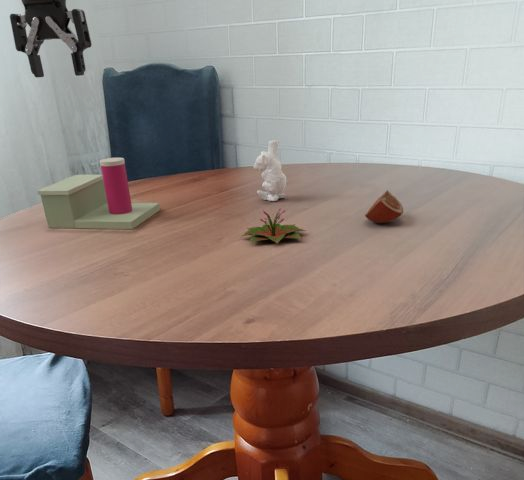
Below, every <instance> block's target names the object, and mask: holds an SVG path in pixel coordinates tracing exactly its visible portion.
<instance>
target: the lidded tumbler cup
mask: <svg viewBox="0 0 524 480" xmlns="http://www.w3.org/2000/svg"><path fill="white" fill-rule="evenodd" d="M99 166H100V170H101V175H102V176H103V182H104V187H105V192H106V198H107V203H108V208H109V213H111V214H125V213H129V212H131V211H132V204H131V203H132V199H131V193H130V188H129V182H128V175H127V169H126V160H125V158H124V157H108V158H102V159H100V160H99Z"/></svg>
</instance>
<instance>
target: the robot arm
mask: <svg viewBox="0 0 524 480" xmlns="http://www.w3.org/2000/svg"><path fill="white" fill-rule="evenodd" d="M21 3H22V5H23V8H24V14H22V13H20V14H19V13H11V14H10V15H9V20H10V26H11V31H12V36H13V41H14V42H13V43H14V46H15V47H14V48H15V50H16V51H17V52H21V53H24V54H25V55H26V56H27V59H28V63H29V67H30V70H31V73H32V75H34V77H35V78H44V77H45V73H44V69H43V64H42V59H41V55H40V54H39V52H40V49H41V47H42V45H43V44H44V42H45V40H46V41H47V40H49V41H50V40H61V41H62V42H63V43H65V44H66V46H67V47H68V48H69V49H70V51H71V53H70V56H71V61H72V66H73V72H74V75H75V76H84V75H85V72H86V63H85V58H84V51H85V50H87V49H88V48H89V49H90V48H92V44H93V43H92V40H91V35H90V30H89V27H88V22H87V17H86V13H85V11H84V10H83V9H79V8H74V9H72V10H69V9H68V8H67V0H21ZM70 21H71V23H72V24H73V25H74V29H75V33H76V35H75V33H74V32H73V30H71V28H70V27H69V25H70ZM27 26H29V32H28V35H27V29H26V28H27Z"/></svg>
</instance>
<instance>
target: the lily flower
mask: <svg viewBox="0 0 524 480" xmlns="http://www.w3.org/2000/svg"><path fill="white" fill-rule="evenodd" d="M270 209H271V211H273V209H272V208H270ZM281 210H282V208H279V209H278V211H277V212H276V215H275V217H274V214H275V213H272V217H271V216H270V215H269V213H268V212H266V211H265V209H262V213H263V214H264V215H266V217H264V219H262V218H260V219H259V220H260V222H263V223H264V224H263V225H262V226H252V227H246V229H247V231H246V232H244V233H243V234H242V235H241V237H245V236H251V235H253V236H251V237H250V239H249V242H248V243H255V242H259V241H267V240H271V241H272V242H274V243H275V244H278V243H280V241H281V240H283V239H301V240H302V239H303V238H302V236H301V235H300V234H299V233H298V232H307V230H306V229H303V228H300V227H298V226H296V223H295V224H281V223H282V222H284V220H285V218H282V219H280V218H281V215H282V214H284V213H286V210H283V211H282V212H280V211H281ZM278 220H279V221H278ZM296 232H297V233H296Z"/></svg>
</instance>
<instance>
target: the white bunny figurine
mask: <svg viewBox="0 0 524 480" xmlns="http://www.w3.org/2000/svg"><path fill="white" fill-rule="evenodd" d="M279 143H280V142H279V141H278V139H274V140H273V139H272V140H269V141H268V145H267V151H266V150H261V152H260V155H258V156H257V157H256V159H255V161H254V162H255V163H253V169H254V170H256V171H259V172H260V171H262V172H261V178H262V179H263V182H262V184H261V187H262V190H260V189H259V190H257V191H256V194H257V195H258V196H259V197H260V198H261V200H263V201H268V202H278V200H279V199H282V198H283V199H284V198H287V195H286V194H285V193H283V192H284V190H285V188H286V185H287V182H288V181H287V176H286V175H285V174H284V172H283V171H282V168H283V167H282V166H283V163H282V161H281V159H280V158H279Z"/></svg>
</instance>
